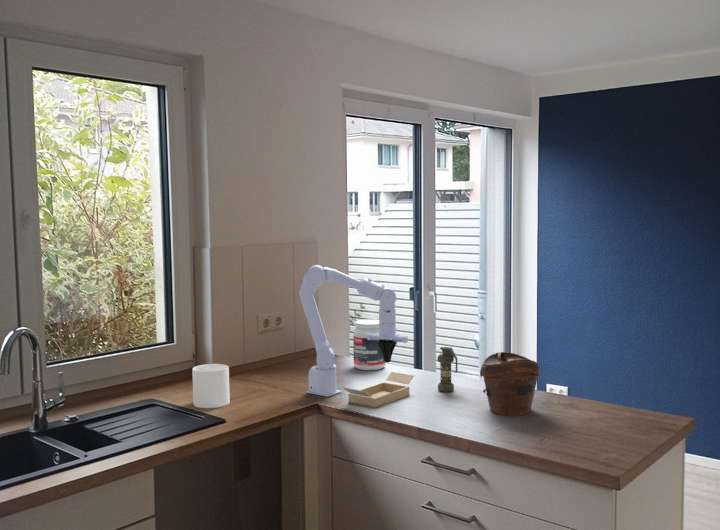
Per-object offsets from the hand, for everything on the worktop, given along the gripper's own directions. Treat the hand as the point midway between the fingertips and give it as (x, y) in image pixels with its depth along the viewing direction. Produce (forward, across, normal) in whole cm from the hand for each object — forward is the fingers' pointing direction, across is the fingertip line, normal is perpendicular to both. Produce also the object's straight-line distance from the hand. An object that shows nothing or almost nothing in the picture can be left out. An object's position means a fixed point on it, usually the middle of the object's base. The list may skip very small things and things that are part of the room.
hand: (387, 361), depth 249 cm
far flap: (+5, +4, +1) cm, 7 cm away
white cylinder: (+11, -46, -38) cm, 61 cm away
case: (+11, +44, -5) cm, 45 cm away
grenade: (+11, +18, +10) cm, 23 cm away
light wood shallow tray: (+10, +2, -10) cm, 15 cm away
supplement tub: (+11, -22, +31) cm, 40 cm away
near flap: (+5, -1, -21) cm, 22 cm away
